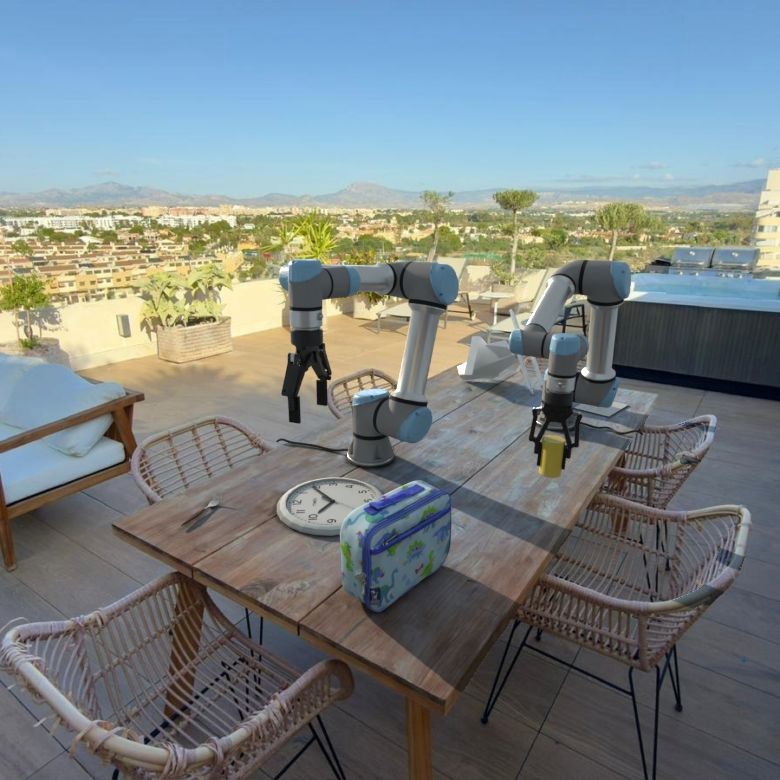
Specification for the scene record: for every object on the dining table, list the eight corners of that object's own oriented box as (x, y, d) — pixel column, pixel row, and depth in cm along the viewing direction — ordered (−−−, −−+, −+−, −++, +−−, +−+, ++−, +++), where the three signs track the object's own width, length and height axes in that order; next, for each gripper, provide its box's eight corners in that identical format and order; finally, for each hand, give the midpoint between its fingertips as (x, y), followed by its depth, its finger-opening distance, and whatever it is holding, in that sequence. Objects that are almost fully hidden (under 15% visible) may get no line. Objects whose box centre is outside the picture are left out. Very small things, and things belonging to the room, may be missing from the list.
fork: (176, 526, 131) (176, 519, 130) (217, 497, 145) (217, 491, 145) (185, 528, 130) (184, 521, 130) (225, 499, 145) (224, 492, 144)
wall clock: (392, 527, 129) (268, 531, 127) (391, 533, 130) (269, 537, 127) (383, 473, 158) (282, 475, 155) (383, 478, 158) (282, 480, 156)
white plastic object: (478, 423, 260) (457, 400, 235) (460, 349, 282) (438, 321, 257) (551, 399, 247) (536, 372, 223) (525, 323, 270) (510, 291, 245)
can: (535, 473, 151) (539, 439, 148) (543, 466, 156) (547, 433, 153) (556, 480, 148) (561, 445, 145) (564, 472, 153) (568, 438, 150)
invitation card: (608, 416, 214) (573, 407, 224) (608, 416, 214) (573, 408, 224) (628, 404, 229) (594, 396, 238) (628, 405, 229) (594, 397, 238)
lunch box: (369, 626, 100) (370, 530, 93) (334, 598, 107) (332, 507, 101) (455, 567, 117) (460, 483, 111) (419, 547, 124) (423, 467, 118)
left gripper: (292, 338, 109) (296, 433, 116) (344, 320, 132) (345, 400, 138) (262, 335, 112) (267, 428, 118) (317, 318, 134) (319, 396, 140)
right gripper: (522, 389, 144) (515, 466, 151) (597, 397, 138) (586, 476, 145) (525, 382, 151) (518, 455, 158) (596, 390, 145) (585, 465, 152)
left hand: (309, 413), depth 128 cm, fingers open, 13 cm apart
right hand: (550, 465), depth 151 cm, fingers closed on can, 6 cm apart
